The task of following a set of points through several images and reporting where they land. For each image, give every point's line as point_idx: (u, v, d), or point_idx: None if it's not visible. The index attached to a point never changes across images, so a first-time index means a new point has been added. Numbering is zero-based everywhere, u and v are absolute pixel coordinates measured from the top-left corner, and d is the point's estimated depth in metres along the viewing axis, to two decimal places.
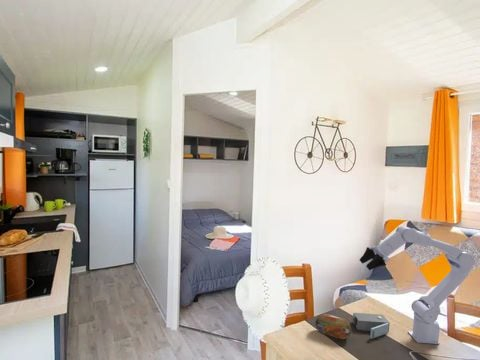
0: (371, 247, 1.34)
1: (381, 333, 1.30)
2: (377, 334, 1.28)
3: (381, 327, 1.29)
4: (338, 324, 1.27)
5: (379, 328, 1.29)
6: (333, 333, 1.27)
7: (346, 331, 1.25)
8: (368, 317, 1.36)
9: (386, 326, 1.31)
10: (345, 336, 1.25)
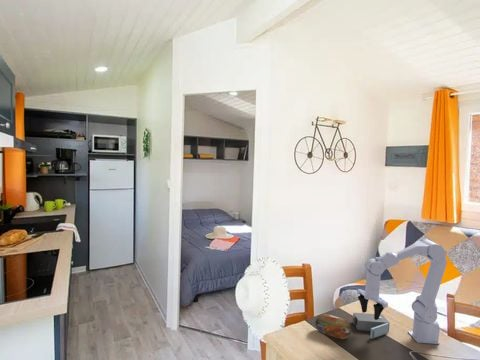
0: (358, 292, 1.35)
1: (381, 333, 1.30)
2: (377, 334, 1.28)
3: (381, 327, 1.29)
4: (338, 324, 1.27)
5: (379, 328, 1.29)
6: (333, 333, 1.27)
7: (346, 331, 1.25)
8: (368, 317, 1.36)
9: (386, 326, 1.31)
10: (345, 336, 1.25)
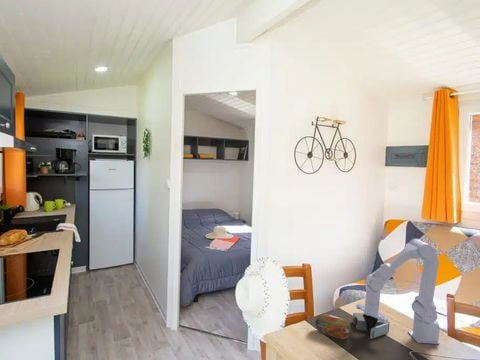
0: (357, 307, 1.35)
1: (381, 333, 1.30)
2: (377, 334, 1.28)
3: (381, 327, 1.29)
4: (338, 324, 1.27)
5: (379, 328, 1.29)
6: (333, 333, 1.27)
7: (346, 331, 1.25)
8: None
9: (386, 326, 1.31)
10: (345, 336, 1.25)
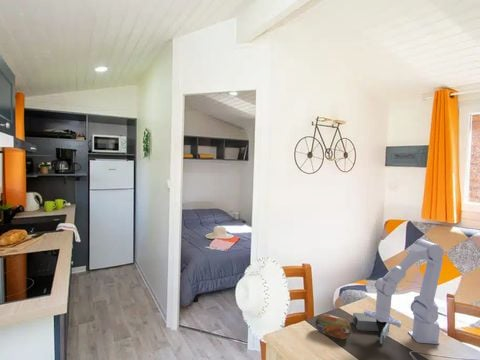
0: (365, 314, 1.29)
1: (385, 335, 1.28)
2: (384, 337, 1.26)
3: (386, 329, 1.28)
4: (338, 324, 1.27)
5: (385, 331, 1.27)
6: (333, 333, 1.27)
7: (346, 331, 1.25)
8: (368, 317, 1.36)
9: (387, 326, 1.31)
10: (345, 336, 1.25)
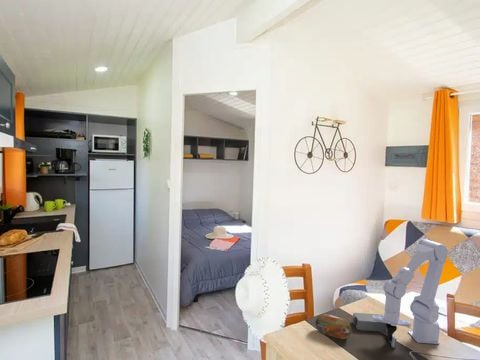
0: (375, 320, 1.24)
1: None
2: None
3: None
4: (338, 324, 1.27)
5: None
6: (333, 333, 1.27)
7: (346, 331, 1.25)
8: (368, 317, 1.36)
9: None
10: (345, 336, 1.25)
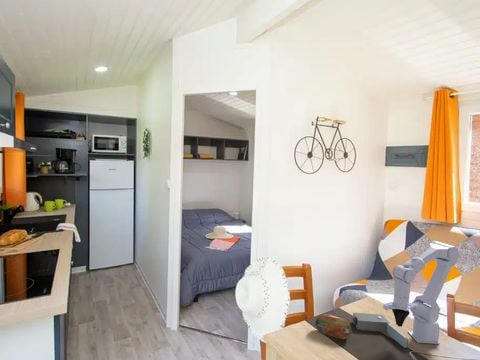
0: (387, 308, 1.21)
1: None
2: None
3: None
4: (338, 324, 1.27)
5: None
6: (333, 333, 1.27)
7: (346, 331, 1.25)
8: (368, 317, 1.36)
9: None
10: (345, 336, 1.25)
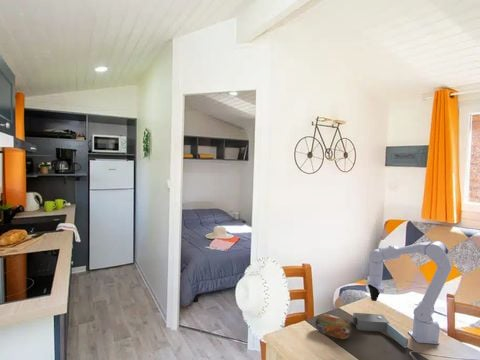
0: (367, 278, 1.49)
1: None
2: None
3: None
4: (338, 324, 1.27)
5: None
6: (333, 333, 1.27)
7: (346, 331, 1.25)
8: (368, 317, 1.36)
9: None
10: (345, 336, 1.25)
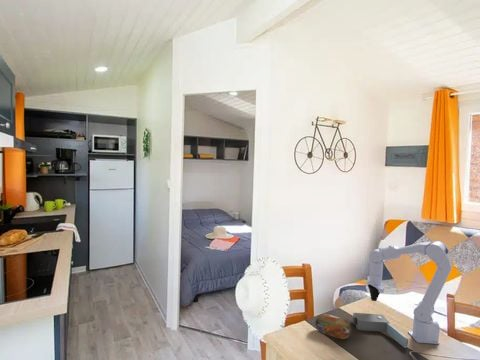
0: (367, 278, 1.49)
1: None
2: None
3: None
4: (338, 324, 1.27)
5: None
6: (333, 333, 1.27)
7: (346, 331, 1.25)
8: (368, 317, 1.36)
9: None
10: (345, 336, 1.25)
